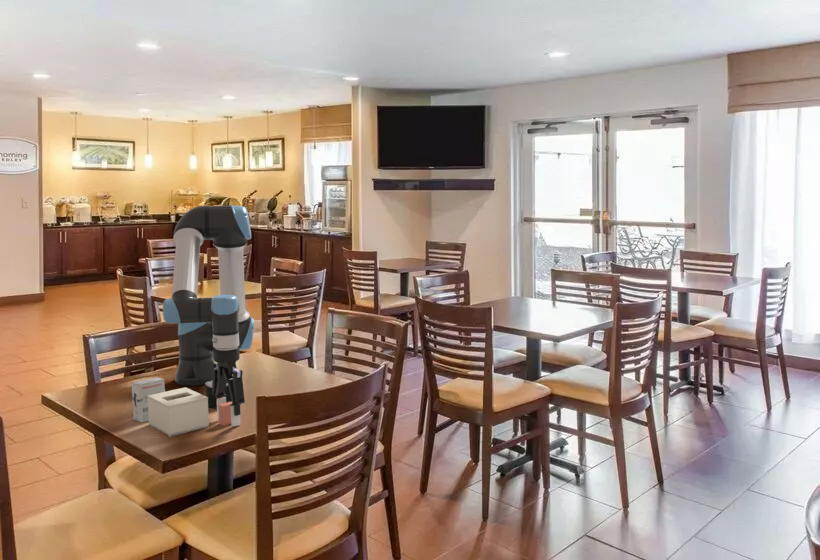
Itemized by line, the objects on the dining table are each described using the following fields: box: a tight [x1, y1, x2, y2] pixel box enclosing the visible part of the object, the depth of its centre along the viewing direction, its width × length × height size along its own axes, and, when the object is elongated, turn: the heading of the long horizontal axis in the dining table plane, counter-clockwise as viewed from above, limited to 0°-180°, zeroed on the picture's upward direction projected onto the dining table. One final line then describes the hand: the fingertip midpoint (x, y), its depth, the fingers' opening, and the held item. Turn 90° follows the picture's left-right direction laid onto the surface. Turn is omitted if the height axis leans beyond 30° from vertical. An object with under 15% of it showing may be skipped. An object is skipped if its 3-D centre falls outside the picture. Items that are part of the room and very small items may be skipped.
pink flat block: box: [218, 401, 232, 427], centre depth 207 cm, size 2×5×6 cm, turn 134°
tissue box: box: [147, 387, 210, 438], centre depth 204 cm, size 14×12×9 cm
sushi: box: [204, 379, 232, 409], centre depth 225 cm, size 8×8×8 cm
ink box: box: [131, 376, 166, 424], centre depth 211 cm, size 8×5×12 cm, turn 140°
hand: (229, 421), depth 207 cm, fingers open, 7 cm apart
